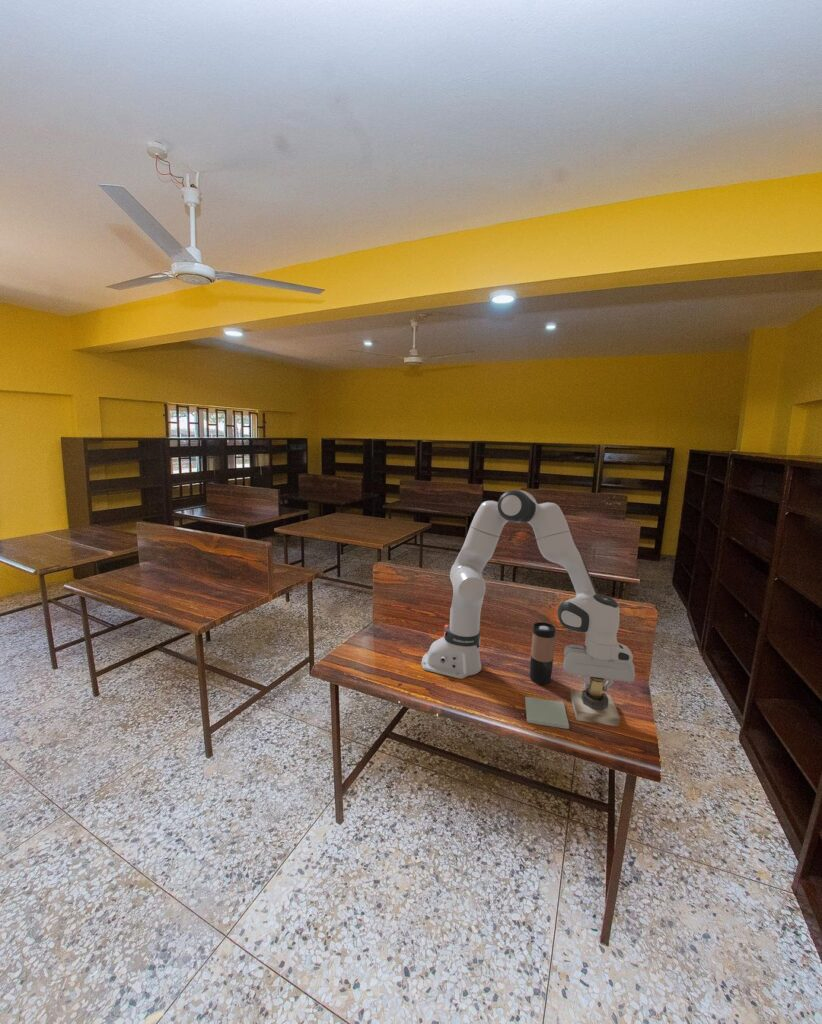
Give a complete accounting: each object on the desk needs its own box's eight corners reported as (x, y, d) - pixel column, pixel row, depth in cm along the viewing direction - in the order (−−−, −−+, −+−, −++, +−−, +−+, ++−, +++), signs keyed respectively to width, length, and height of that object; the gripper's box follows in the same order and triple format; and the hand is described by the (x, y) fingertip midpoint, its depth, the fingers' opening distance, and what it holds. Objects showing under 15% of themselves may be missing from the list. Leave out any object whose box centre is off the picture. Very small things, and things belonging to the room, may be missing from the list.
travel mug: (550, 675, 152) (554, 623, 149) (552, 686, 145) (557, 632, 142) (528, 672, 154) (532, 621, 151) (529, 683, 147) (533, 629, 144)
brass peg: (588, 705, 130) (591, 678, 129) (586, 697, 134) (588, 671, 133) (602, 707, 129) (605, 680, 128) (599, 699, 133) (602, 673, 132)
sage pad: (526, 722, 126) (527, 719, 126) (524, 699, 137) (525, 696, 137) (568, 729, 123) (569, 726, 123) (563, 705, 135) (563, 702, 135)
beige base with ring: (576, 720, 127) (578, 703, 127) (570, 697, 139) (572, 682, 138) (619, 726, 125) (621, 709, 124) (609, 703, 137) (610, 687, 136)
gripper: (566, 648, 128) (562, 689, 130) (638, 657, 124) (633, 699, 126) (563, 639, 134) (559, 679, 136) (632, 647, 130) (627, 688, 132)
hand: (595, 689), depth 131 cm, fingers closed on brass peg, 4 cm apart
